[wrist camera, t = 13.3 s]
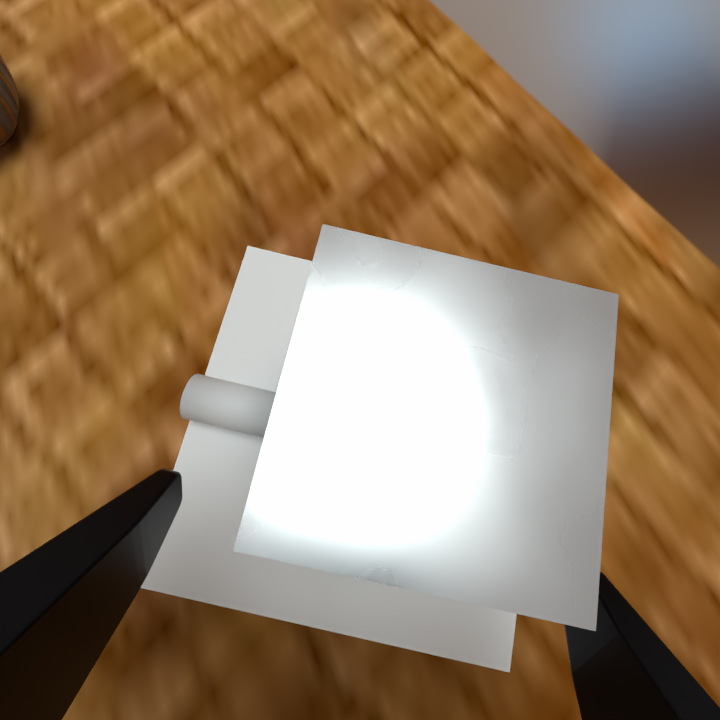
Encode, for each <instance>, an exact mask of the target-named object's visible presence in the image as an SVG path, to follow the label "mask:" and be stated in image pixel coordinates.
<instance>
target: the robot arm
mask: <svg viewBox="0 0 720 720" xmlns="http://www.w3.org/2000/svg"><path fill="white" fill-rule="evenodd" d="M181 502H182V477H181V474H180V473H179V472H177V471H173V470H168V469H160V470H158V471H156V472H155V473H153V474H152V475H150V476H149V477H147V478H146V479H144V480H143V481H141V482H139V483H138V484H136V485H135V486H133V487H132V488H130V489H129V490H127V491H125V492H124V493H122V494H121V495H119V496H118V497H116V498H115V499H113V500H111V501H110V502H108V503H107V504H105V505H104V506H102V507H101V508H99V509H98V510H96V511H94V512H93V513H91V514H90V515H88V516H87V517H85V518H84V519H82V520H80V521H79V522H77V523H76V524H74V525H73V526H71V527H70V528H68V529H67V530H65V531H63V532H62V533H60V534H59V535H57V536H56V537H54V538H53V539H51V540H49V541H48V542H46V543H45V544H43V545H42V546H40V547H39V548H37V549H36V550H34V551H32V552H31V553H29V554H28V555H26V556H25V557H23V558H22V559H20V560H18V561H17V562H15V563H14V564H12V565H11V566H9V567H8V568H6V569H5V570H3V571H1V572H0V720H62V718H63V717H64V715H65V713H66V712H67V710H68V708H69V707H70V705H71V703H72V702H73V700H74V698H75V697H76V695H77V693H78V692H79V690H80V688H81V687H82V685H83V683H84V681H85V680H86V678H87V676H88V675H89V673H90V671H91V670H92V668H93V666H94V665H95V663H96V661H97V660H98V658H99V656H100V655H101V653H102V651H103V650H104V648H105V646H106V645H107V643H108V641H109V640H110V638H111V636H112V635H113V633H114V631H115V630H116V628H117V626H118V625H119V623H120V621H121V620H122V618H123V616H124V614H125V613H126V611H127V609H128V608H129V606H130V604H131V603H132V601H133V599H134V598H135V596H136V594H137V593H138V591H139V589H140V588H141V586H142V584H143V582H144V581H145V579H146V577H147V575H148V573H149V571H150V569H151V567H152V565H153V563H154V561H155V559H156V556H157V554H158V552H159V550H160V548H161V546H162V544H163V542H164V539H165V537H166V535H167V533H168V531H169V529H170V527H171V524H172V522H173V520H174V518H175V516H176V514H177V512H178V510H179V507H180V505H181ZM565 631H566V638H567V645H568V653H569V660H570V666H571V672H572V677H573V682H574V687H575V691H576V695H577V700H578V704H579V708H580V713H581V717H582V720H720V708H719V706H718V705H717V704H716V703H715V702H714V701H713V699H712V698H711V697H710V696H709V695H708V694H707V693H706V691H705V690H704V689H703V688H702V687H701V686H700V685H699V683H698V682H697V681H696V680H695V679H694V678H693V676H692V675H691V674H690V673H689V672H688V671H687V670H686V668H685V667H684V666H683V665H682V664H681V663H680V661H679V660H678V659H677V658H676V657H675V656H674V655H673V653H672V652H671V651H670V650H669V649H668V648H667V646H666V645H665V644H664V643H663V642H662V641H661V640H660V638H659V637H658V636H657V635H656V634H655V633H654V631H653V630H652V629H651V628H650V627H649V626H648V625H647V623H646V622H645V621H644V620H643V619H642V618H641V616H640V615H639V614H638V613H637V612H636V611H635V610H634V608H633V607H632V606H631V605H630V604H629V603H628V602H627V600H626V599H625V598H624V597H623V596H622V595H621V593H620V592H619V591H618V590H617V589H616V588H615V587H614V585H613V584H612V583H611V582H610V581H609V580H608V578H607V577H606V576H605V575H604V574H603V573H602V572H601V571H600V579H599V594H598V609H597V624H596V631H592V630H588V629H583V628H579V627H574V626H570V625H565Z"/></svg>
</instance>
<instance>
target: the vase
mask: <svg viewBox="0 0 720 720" xmlns="http://www.w3.org/2000/svg"><path fill="white" fill-rule="evenodd" d="M18 117H19V97H18V92H17V89H16V86H15V83H14V80H13V78H12V76H11V74H10V72H9V69H8V67H7V66H6V64H5V62H4V60H3V59H2V57H1V55H0V146H2V145H3V144H4V143H5V142H7V141H8V140H9V138H10V137H11V136H12V134H13V133H14V131H15V129H16V126H17V122H18Z"/></svg>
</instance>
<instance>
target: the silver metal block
mask: <svg viewBox="0 0 720 720" xmlns="http://www.w3.org/2000/svg"><path fill="white" fill-rule="evenodd" d="M618 297H619V294H615V293H610V292H606V291H602V290H598V289H594V288H589V287H585V286H581V285H577V284H573V283H568V282H564V281H560V280H556V279H551V278H547V277H543V276H539V275H535V274H530V273H526V272H522V271H518V270H514V269H509V268H505V267H501V266H497V265H493V264H488V263H484V262H480V261H476V260H472V259H467V258H463V257H459V256H455V255H451V254H446V253H442V252H438V251H434V250H430V249H425V248H421V247H417V246H413V245H408V244H404V243H400V242H396V241H392V240H387V239H383V238H379V237H375V236H371V235H366V234H362V233H358V232H354V231H350V230H345V229H341V228H337V227H333V226H329V225H324V224H323V225H322V229H321V233H320V236H319V240H318V243H317V247H316V251H315V254H314V258H313V262H312V265H311V269H310V273H309V276H308V280H307V284H306V287H305V291H304V294H303V298H302V302H301V305H300V309H299V313H298V316H297V320H296V324H295V327H294V331H293V335H292V338H291V342H290V345H289V349H288V353H287V356H286V360H285V364H284V367H283V371H282V375H281V378H280V382H279V386H278V389H277V393H276V396H275V400H274V404H273V407H272V411H271V415H270V418H269V422H268V426H267V429H266V433H265V437H264V440H263V444H262V447H261V451H260V455H259V458H258V462H257V466H256V469H255V473H254V477H253V480H252V484H251V487H250V491H249V495H248V498H247V502H246V506H245V509H244V513H243V517H242V520H241V524H240V528H239V531H238V535H237V538H236V542H235V546H234V549H233V551H236V552H241V553H245V554H250V555H254V556H259V557H263V558H268V559H272V560H277V561H281V562H286V563H290V564H295V565H299V566H304V567H308V568H313V569H317V570H322V571H326V572H331V573H335V574H340V575H344V576H349V577H353V578H358V579H362V580H367V581H371V582H376V583H380V584H385V585H389V586H394V587H399V588H403V589H408V590H412V591H417V592H421V593H426V594H430V595H435V596H439V597H444V598H448V599H453V600H457V601H462V602H466V603H471V604H475V605H480V606H484V607H489V608H493V609H498V610H502V611H507V612H511V613H516V614H520V615H525V616H529V617H534V618H538V619H543V620H547V621H552V622H556V623H561V624H565V625H570V626H574V627H579V628H583V629H588V630H592V631H596V624H597V609H598V594H599V579H600V564H601V549H602V534H603V520H604V505H605V490H606V475H607V460H608V445H609V431H610V416H611V401H612V386H613V371H614V356H615V341H616V327H617V312H618Z"/></svg>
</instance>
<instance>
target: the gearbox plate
mask: <svg viewBox="0 0 720 720" xmlns="http://www.w3.org/2000/svg"><path fill="white" fill-rule="evenodd" d="M311 265H312V261H308V260H304V259H300V258H296V257H292V256H288V255H284V254H279V253H275V252H271V251H267V250H263V249H259V248H255V247H251V246H248V247H247V250H246V253H245V256H244V259H243V262H242V265H241V268H240V271H239V274H238V277H237V280H236V283H235V286H234V289H233V292H232V295H231V298H230V301H229V304H228V307H227V310H226V313H225V316H224V319H223V322H222V325H221V328H220V331H219V334H218V337H217V340H216V343H215V346H214V349H213V352H212V355H211V358H210V361H209V364H208V367H207V370H206V373H205V375H201V374H195V375H193V376H192V377H191V378H190V380H189V381H188V383H187V385H186V387H185V389H184V391H183V394H182V398H181V402H180V414H181V417H182V418H184V419H188V420H190V422H189V425H188V428H187V431H186V434H185V437H184V440H183V443H182V446H181V449H180V452H179V455H178V458H177V461H176V464H175V467H174V470H173V471H177V472H179V473H180V474H181V477H182V502H181V505H180V507H179V510H178V512H177V514H176V516H175V518H174V520H173V522H172V524H171V527H170V529H169V531H168V533H167V535H166V537H165V539H164V542H163V544H162V546H161V548H160V550H159V552H158V554H157V556H156V559H155V561H154V563H153V565H152V567H151V569H150V571H149V573H148V575H147V577H146V579H145V581H144V582H143V584H142V586H141V588H143V589H148V590H152V591H156V592H161V593H165V594H169V595H174V596H178V597H182V598H187V599H191V600H196V601H200V602H204V603H209V604H213V605H217V606H222V607H226V608H230V609H235V610H239V611H244V612H248V613H252V614H257V615H261V616H265V617H270V618H274V619H278V620H283V621H287V622H292V623H296V624H300V625H305V626H309V627H313V628H318V629H322V630H326V631H331V632H335V633H340V634H344V635H348V636H353V637H357V638H361V639H366V640H370V641H374V642H379V643H383V644H388V645H392V646H396V647H401V648H405V649H409V650H414V651H418V652H422V653H427V654H431V655H436V656H440V657H444V658H449V659H453V660H457V661H462V662H466V663H470V664H475V665H479V666H484V667H488V668H492V669H497V670H501V671H505V672H510V666H511V657H512V649H513V641H514V632H515V624H516V615H517V614H516V613H511V612H507V611H502V610H498V609H493V608H489V607H484V606H480V605H475V604H471V603H466V602H462V601H457V600H453V599H448V598H444V597H439V596H435V595H430V594H426V593H421V592H417V591H412V590H408V589H403V588H399V587H394V586H389V585H385V584H380V583H376V582H371V581H367V580H362V579H358V578H353V577H349V576H344V575H340V574H335V573H331V572H326V571H322V570H317V569H313V568H308V567H304V566H299V565H295V564H290V563H286V562H281V561H277V560H272V559H268V558H263V557H259V556H254V555H250V554H245V553H241V552H236V551H233V549H234V546H235V542H236V538H237V535H238V531H239V528H240V524H241V520H242V517H243V513H244V509H245V506H246V502H247V498H248V495H249V491H250V487H251V484H252V480H253V477H254V473H255V469H256V466H257V462H258V458H259V455H260V451H261V447H262V444H263V440H264V437H265V433H266V429H267V426H268V422H269V418H270V415H271V411H272V407H273V404H274V400H275V396H276V393H277V389H278V386H279V382H280V378H281V375H282V371H283V367H284V364H285V360H286V356H287V353H288V349H289V345H290V342H291V338H292V335H293V331H294V327H295V324H296V320H297V316H298V313H299V309H300V305H301V302H302V298H303V294H304V291H305V287H306V284H307V280H308V276H309V273H310V269H311Z"/></svg>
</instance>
